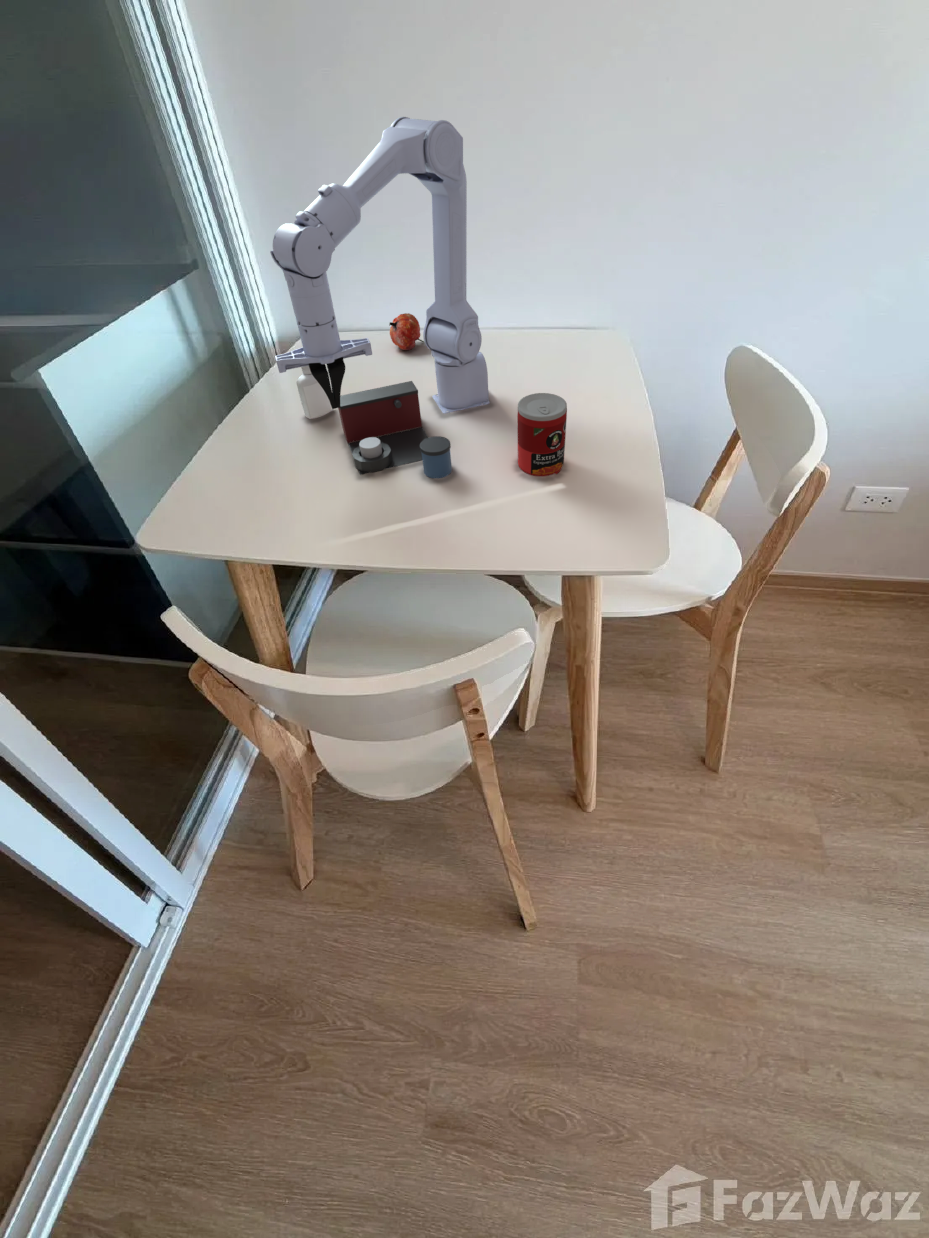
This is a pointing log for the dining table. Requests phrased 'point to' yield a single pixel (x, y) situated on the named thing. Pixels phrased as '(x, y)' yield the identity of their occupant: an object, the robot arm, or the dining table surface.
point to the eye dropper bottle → (312, 395)
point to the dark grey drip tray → (391, 451)
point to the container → (436, 456)
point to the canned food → (541, 433)
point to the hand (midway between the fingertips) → (335, 405)
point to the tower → (380, 411)
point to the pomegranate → (405, 331)
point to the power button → (370, 447)
